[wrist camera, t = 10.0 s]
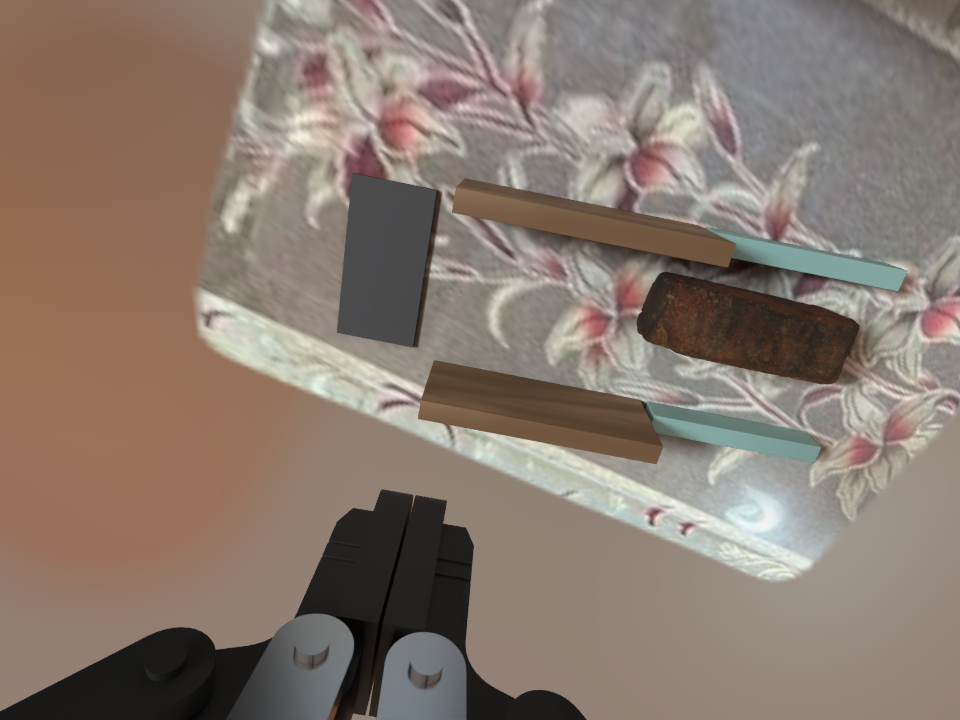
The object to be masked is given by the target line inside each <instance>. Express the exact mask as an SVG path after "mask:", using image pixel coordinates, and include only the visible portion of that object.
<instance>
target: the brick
mask: <svg viewBox="0 0 960 720" xmlns="http://www.w3.org/2000/svg"><path fill="white" fill-rule="evenodd" d="M641 310H642V312H641V313H640V314H639V316H638V319H637V327H638V328H637V330H638V333H639V334H641V335H643V338H644V339H645V340H646V341H648V342H650V343H652V344H656V345H660V346H663V347H665V348H668V349H671V350H673V351H674V352H676V353H679V354H682V355H685V356H690V357H693V358H697V359H704V360H707V361H711V362H716V363H721V364H726V365H730V366H735V367H740V368H745V369H749V370H754V371H760V372H763V373H768V374H774V375H780V376H784V377H791V378H794V379H796V380H803V381H809V382H813V383H818V384H833V383H835V382H836V381H837V380H838V378H839V375H840V373H841V370H842V367H843V365H844V362H845V360H846V357H847V355H848V352H849V350H850V348H851V346H852V344H853V342H854V339H855V337H856V335H857V332H858V330H859V325H858V324H857V323H856V322H855V321H854V320H852V319H850V318H847V317H844V316H842V315H839V314H837V313H835V312H833V311H830V310H828V309H825V308H822V307H819V306H816V305H808V304H804V303H800V302H795V301H792V300H788V299H784V298H780V297H776V296H772V295H767V294H762V293H758V292H754V291H750V290H746V289H741V288H736V287H731V286H727V285H723V284H718V283H714V282H709V281H705V280H701V279H696V278H693V277H688V276H683V275H678V274H674V273H669V272H663V273H660V274H659V275H658V277H657V278H656V280H655V282H654V283H653V284H652V286H651V288H650V290H649V293H648V295H647V298H646V300H645V303H644V304H643V308H642V309H641Z"/></svg>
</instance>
